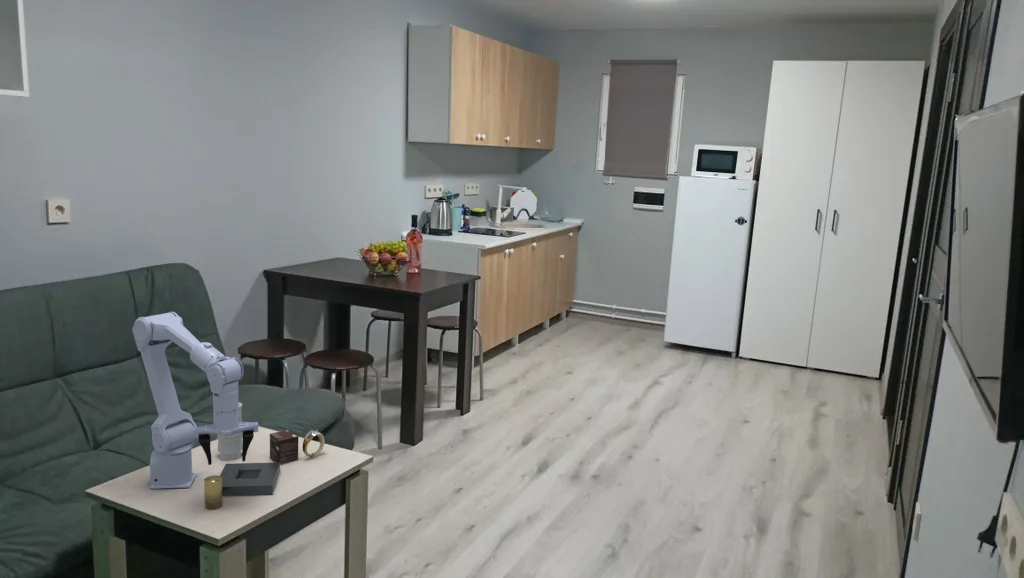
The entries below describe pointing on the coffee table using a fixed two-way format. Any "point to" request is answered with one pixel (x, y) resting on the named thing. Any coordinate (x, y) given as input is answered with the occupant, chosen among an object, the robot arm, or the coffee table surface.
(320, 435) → the ring
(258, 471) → the block
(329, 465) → the coffee table surface
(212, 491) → the brass shaft
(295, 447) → the box
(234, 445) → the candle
